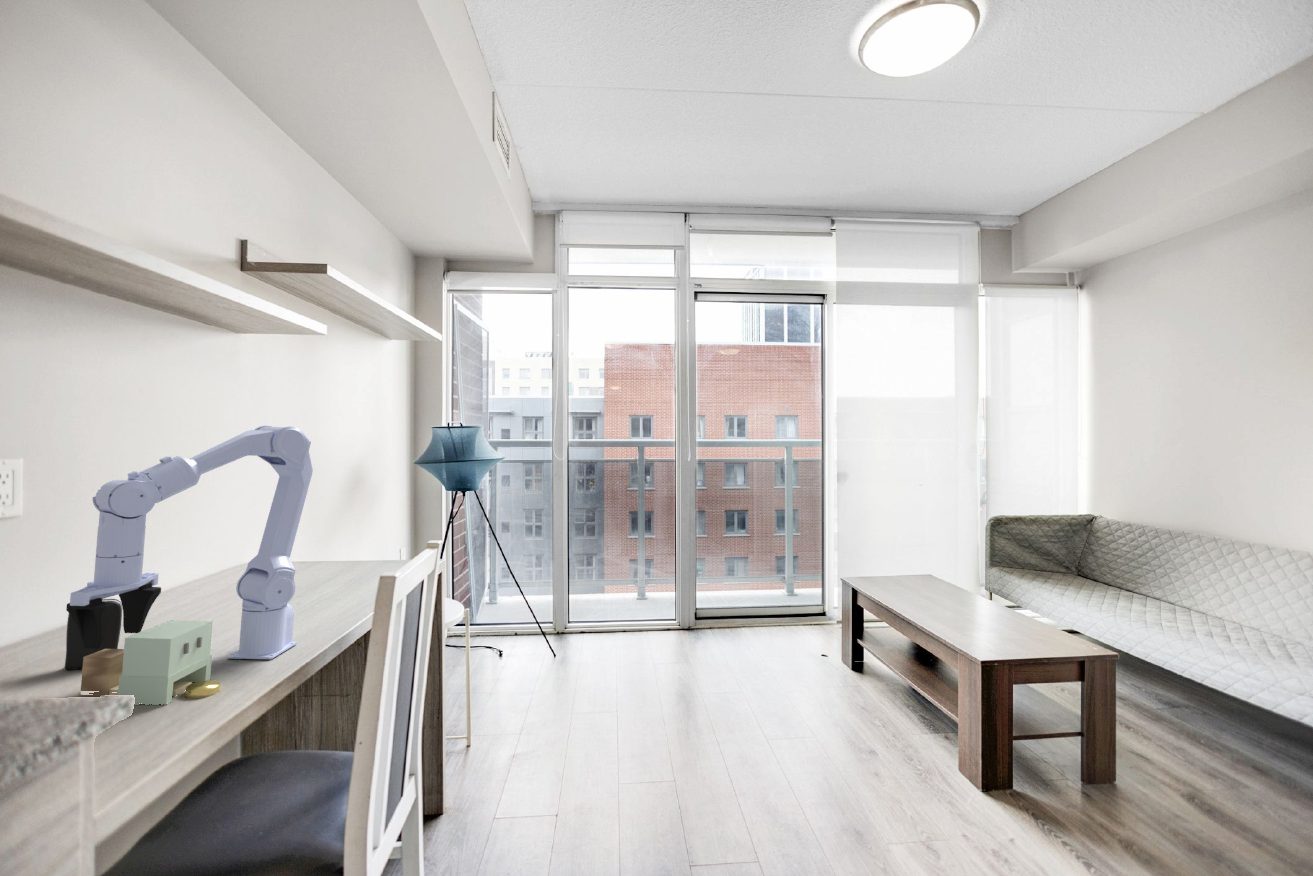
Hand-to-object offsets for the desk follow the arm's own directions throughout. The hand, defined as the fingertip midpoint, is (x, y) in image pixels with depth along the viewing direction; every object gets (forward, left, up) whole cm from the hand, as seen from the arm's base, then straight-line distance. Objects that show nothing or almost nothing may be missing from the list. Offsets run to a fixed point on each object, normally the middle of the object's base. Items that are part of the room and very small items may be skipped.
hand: (113, 639), depth 94 cm
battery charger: (-11, -11, -8) cm, 18 cm away
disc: (0, +14, -8) cm, 16 cm away
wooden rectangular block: (0, +4, -8) cm, 9 cm away
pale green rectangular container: (0, +9, -8) cm, 12 cm away
